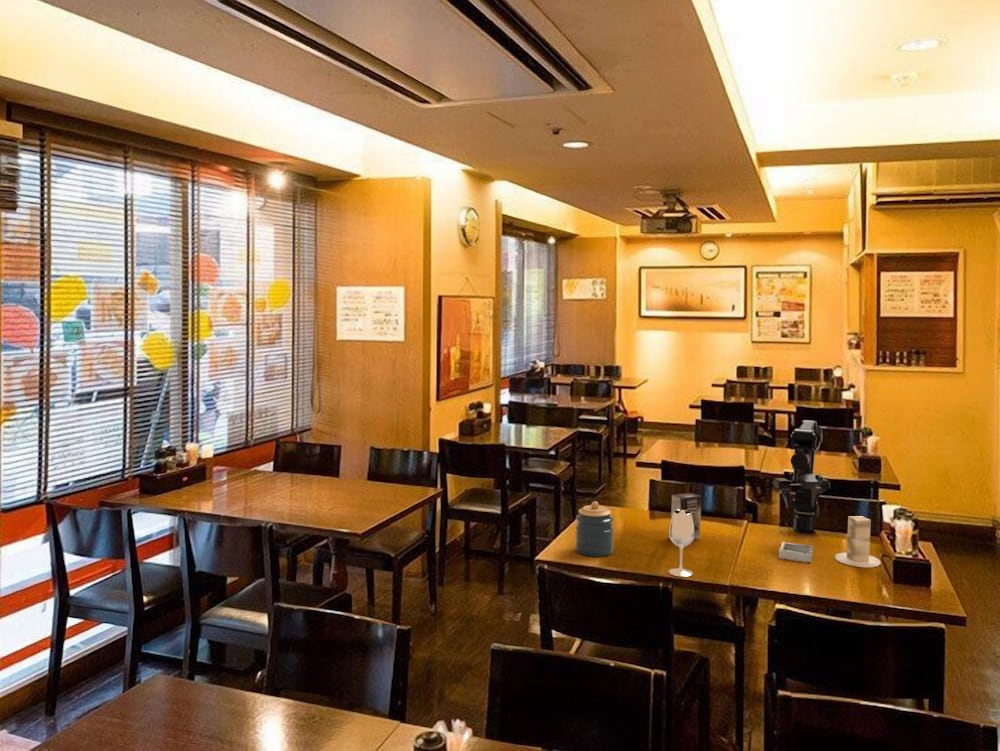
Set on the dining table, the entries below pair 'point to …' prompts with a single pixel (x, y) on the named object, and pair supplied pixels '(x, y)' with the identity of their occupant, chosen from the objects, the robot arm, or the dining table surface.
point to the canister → (594, 530)
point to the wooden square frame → (796, 552)
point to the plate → (864, 564)
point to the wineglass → (681, 537)
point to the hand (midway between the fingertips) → (800, 506)
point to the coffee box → (689, 508)
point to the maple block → (858, 538)
